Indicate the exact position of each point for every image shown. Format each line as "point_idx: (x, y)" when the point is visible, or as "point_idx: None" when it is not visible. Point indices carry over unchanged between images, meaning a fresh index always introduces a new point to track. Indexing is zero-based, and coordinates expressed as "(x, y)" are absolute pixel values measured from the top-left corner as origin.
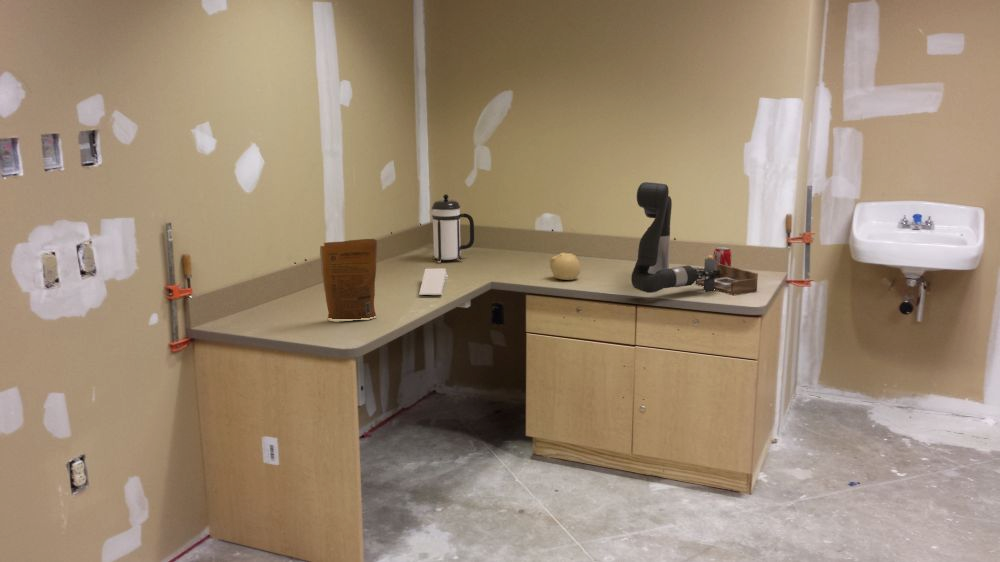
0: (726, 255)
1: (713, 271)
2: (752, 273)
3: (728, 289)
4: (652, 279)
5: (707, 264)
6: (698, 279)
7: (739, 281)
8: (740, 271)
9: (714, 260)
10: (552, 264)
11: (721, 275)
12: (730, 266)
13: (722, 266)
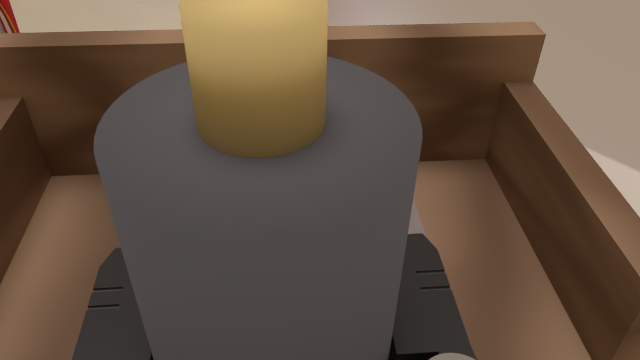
0: None
1: (433, 336)
2: (506, 40)
3: (492, 343)
4: None
5: (333, 316)
6: None
7: (636, 215)
8: (337, 54)
9: (409, 101)
10: None
11: (79, 142)
12: (12, 12)
13: (62, 57)
